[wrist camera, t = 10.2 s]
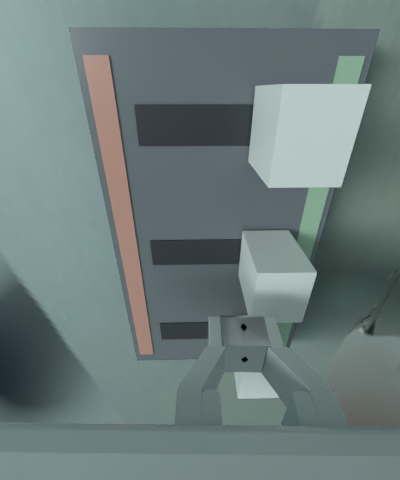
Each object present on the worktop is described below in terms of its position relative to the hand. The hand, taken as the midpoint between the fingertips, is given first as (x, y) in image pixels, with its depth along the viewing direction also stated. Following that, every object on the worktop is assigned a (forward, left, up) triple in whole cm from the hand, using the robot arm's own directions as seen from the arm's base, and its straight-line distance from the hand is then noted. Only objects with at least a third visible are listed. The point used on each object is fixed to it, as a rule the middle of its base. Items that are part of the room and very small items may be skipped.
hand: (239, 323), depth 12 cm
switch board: (+1, 0, -9) cm, 9 cm away
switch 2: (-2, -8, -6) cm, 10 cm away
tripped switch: (-3, 0, -6) cm, 7 cm away
